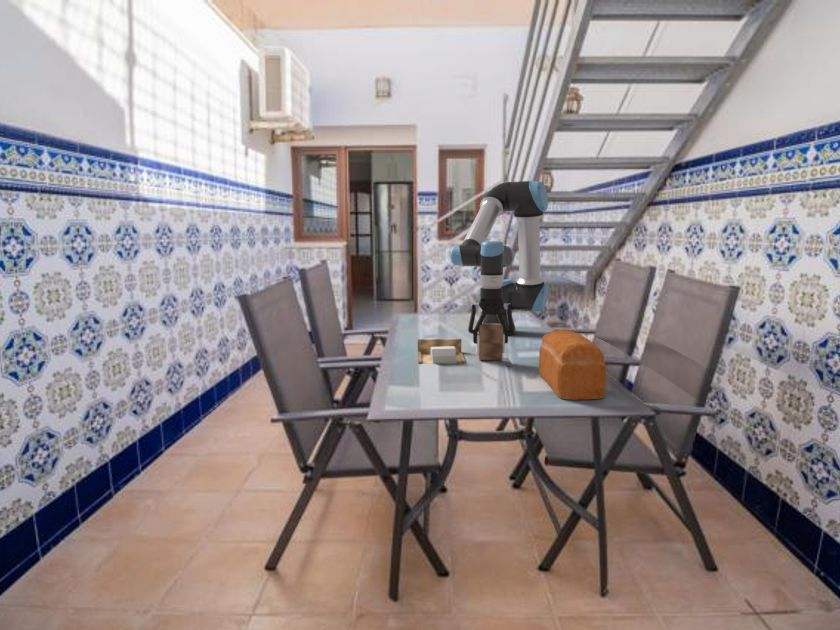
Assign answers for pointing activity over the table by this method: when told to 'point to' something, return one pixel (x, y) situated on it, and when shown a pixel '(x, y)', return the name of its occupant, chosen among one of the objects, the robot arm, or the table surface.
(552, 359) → the bread
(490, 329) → the walnut board
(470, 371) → the table surface
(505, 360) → the rubber mat
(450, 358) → the offcut lower
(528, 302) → the robot arm
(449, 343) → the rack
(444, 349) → the offcut upper
